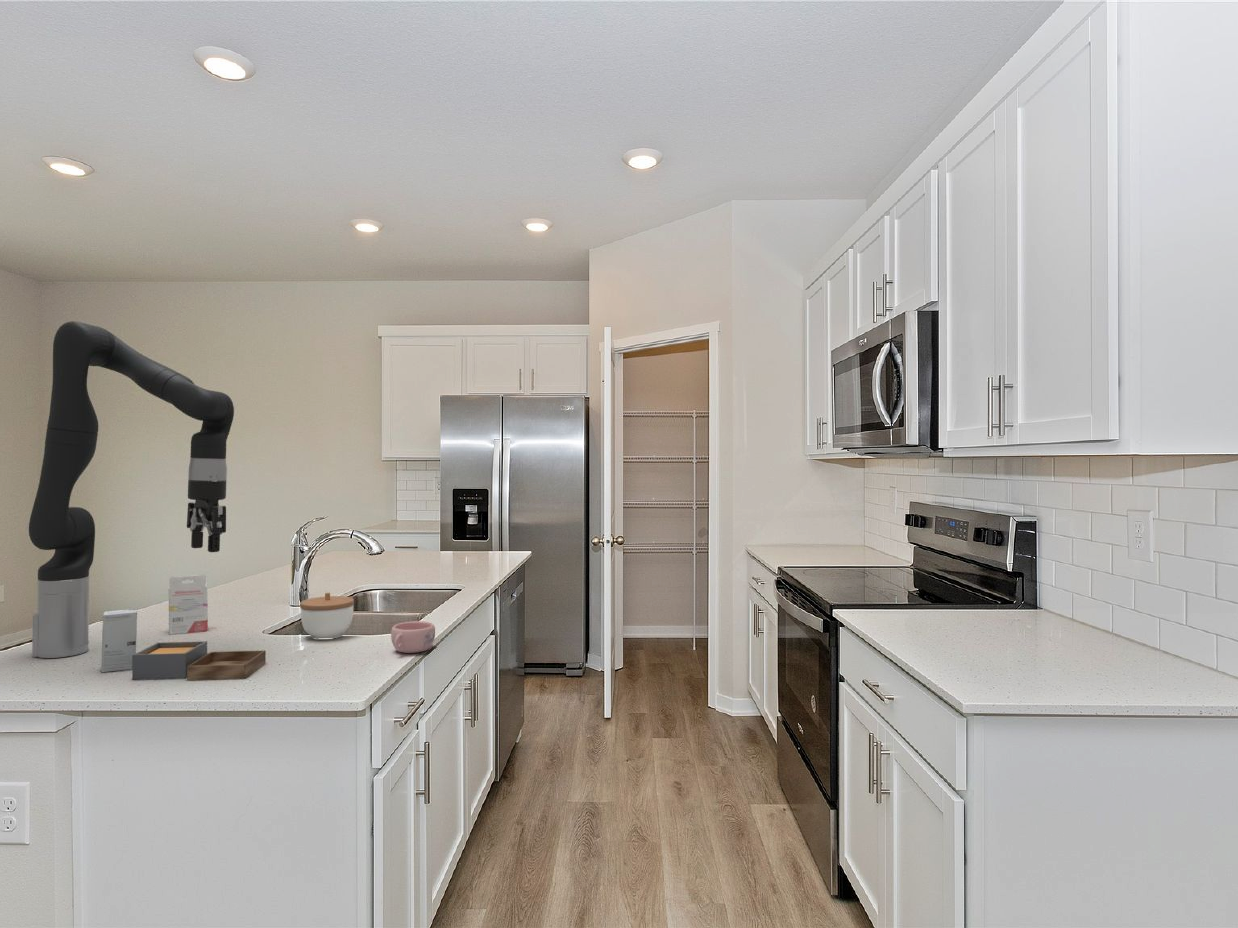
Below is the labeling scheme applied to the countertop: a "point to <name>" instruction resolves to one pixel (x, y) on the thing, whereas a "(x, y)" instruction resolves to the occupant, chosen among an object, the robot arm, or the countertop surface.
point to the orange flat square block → (171, 650)
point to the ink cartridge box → (188, 605)
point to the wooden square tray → (226, 665)
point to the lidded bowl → (327, 616)
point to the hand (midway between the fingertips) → (205, 549)
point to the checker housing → (166, 661)
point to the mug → (412, 636)
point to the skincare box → (118, 639)
